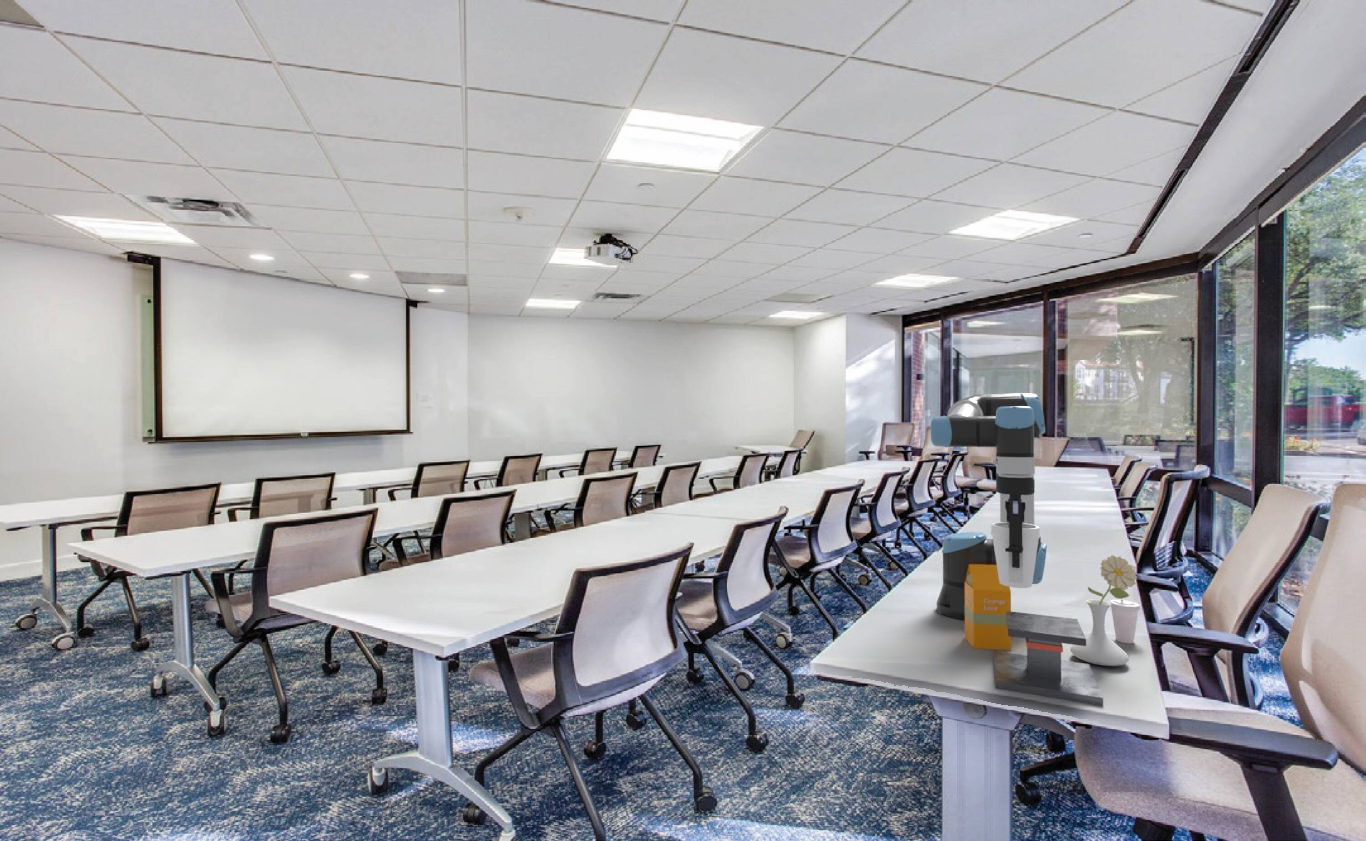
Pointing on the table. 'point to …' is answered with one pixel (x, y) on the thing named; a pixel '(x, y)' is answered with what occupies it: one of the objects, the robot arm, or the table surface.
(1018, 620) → the stand
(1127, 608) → the smoothie
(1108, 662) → the flower in vase
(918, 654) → the table surface
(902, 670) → the table surface
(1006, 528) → the foam cup
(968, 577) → the orange juice
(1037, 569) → the robot arm
